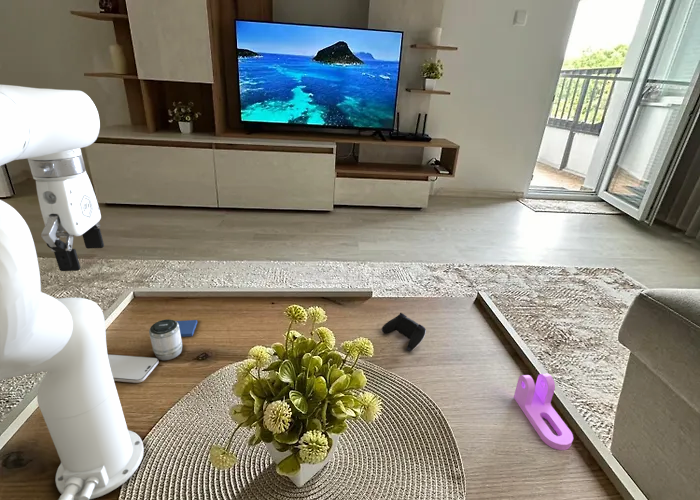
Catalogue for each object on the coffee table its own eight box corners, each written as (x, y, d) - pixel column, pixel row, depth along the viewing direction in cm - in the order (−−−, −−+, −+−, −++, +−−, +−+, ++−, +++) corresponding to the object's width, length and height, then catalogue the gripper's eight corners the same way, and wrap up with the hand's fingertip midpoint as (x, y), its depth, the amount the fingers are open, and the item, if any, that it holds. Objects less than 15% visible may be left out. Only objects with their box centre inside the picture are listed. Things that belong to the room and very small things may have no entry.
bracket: (513, 397, 83) (520, 371, 80) (538, 395, 84) (545, 369, 81) (549, 451, 71) (558, 423, 68) (577, 448, 72) (588, 420, 69)
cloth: (192, 336, 99) (192, 333, 99) (167, 337, 98) (166, 335, 98) (197, 322, 105) (197, 319, 104) (173, 323, 104) (173, 321, 103)
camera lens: (156, 346, 95) (150, 318, 92) (184, 342, 97) (179, 315, 94) (152, 363, 90) (145, 334, 86) (181, 359, 91) (176, 330, 88)
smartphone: (98, 353, 91) (160, 357, 90) (100, 357, 92) (161, 361, 90) (75, 375, 85) (141, 380, 83) (76, 379, 85) (142, 384, 83)
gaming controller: (417, 356, 98) (432, 333, 98) (409, 351, 94) (425, 326, 95) (386, 335, 105) (401, 313, 106) (378, 329, 102) (394, 307, 103)
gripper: (55, 179, 60) (83, 279, 67) (103, 157, 75) (122, 239, 82) (0, 180, 59) (34, 281, 66) (61, 157, 74) (83, 241, 81)
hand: (83, 258), depth 74 cm, fingers open, 9 cm apart
